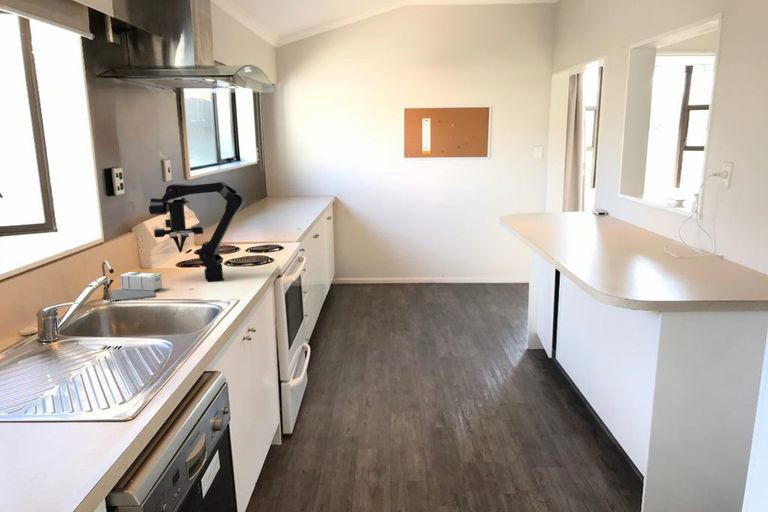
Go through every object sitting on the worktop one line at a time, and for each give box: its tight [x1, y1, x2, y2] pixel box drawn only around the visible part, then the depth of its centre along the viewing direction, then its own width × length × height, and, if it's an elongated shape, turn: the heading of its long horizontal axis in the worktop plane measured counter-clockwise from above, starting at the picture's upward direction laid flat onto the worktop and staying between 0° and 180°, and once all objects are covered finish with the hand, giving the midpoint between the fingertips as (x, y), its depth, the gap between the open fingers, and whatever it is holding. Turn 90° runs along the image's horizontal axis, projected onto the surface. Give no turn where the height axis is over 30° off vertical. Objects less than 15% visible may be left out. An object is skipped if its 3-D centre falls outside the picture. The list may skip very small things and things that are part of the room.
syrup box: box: [119, 271, 163, 292], centre depth 217 cm, size 6×6×14 cm
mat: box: [107, 288, 156, 302], centre depth 211 cm, size 16×16×1 cm
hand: (180, 251), depth 230 cm, fingers closed
